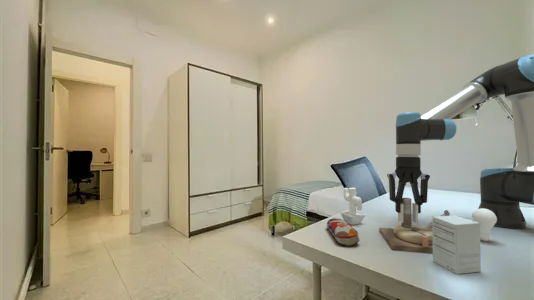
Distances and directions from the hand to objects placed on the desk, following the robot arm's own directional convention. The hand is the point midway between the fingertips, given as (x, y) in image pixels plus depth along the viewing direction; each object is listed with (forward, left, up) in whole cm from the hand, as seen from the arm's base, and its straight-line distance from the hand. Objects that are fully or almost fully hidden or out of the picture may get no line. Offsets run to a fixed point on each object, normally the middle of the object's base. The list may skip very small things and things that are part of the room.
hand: (407, 221), depth 83 cm
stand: (-1, +4, -6) cm, 7 cm away
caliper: (-14, -13, -6) cm, 20 cm away
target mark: (-1, +11, -4) cm, 12 cm away
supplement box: (-5, +20, -6) cm, 21 cm away
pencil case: (+23, +3, -6) cm, 24 cm away
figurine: (+17, -14, -6) cm, 23 cm away
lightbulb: (-24, -2, -6) cm, 25 cm away
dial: (-1, +4, -4) cm, 6 cm away
